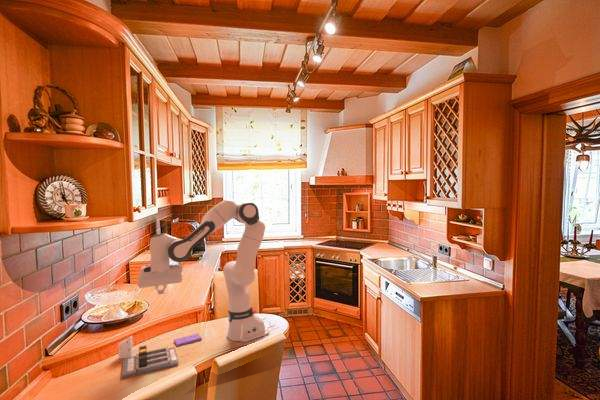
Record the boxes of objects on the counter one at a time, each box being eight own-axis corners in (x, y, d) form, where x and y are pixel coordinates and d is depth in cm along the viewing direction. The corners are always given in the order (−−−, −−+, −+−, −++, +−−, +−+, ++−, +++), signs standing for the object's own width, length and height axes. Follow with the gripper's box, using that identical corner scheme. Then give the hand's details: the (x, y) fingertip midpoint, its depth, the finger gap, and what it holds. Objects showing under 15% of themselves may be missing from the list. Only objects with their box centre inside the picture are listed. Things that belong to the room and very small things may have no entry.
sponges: (201, 341, 168) (201, 337, 168) (176, 347, 161) (176, 344, 161) (198, 336, 174) (198, 332, 174) (173, 342, 167) (173, 339, 167)
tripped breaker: (146, 359, 146) (146, 348, 146) (146, 361, 144) (146, 351, 144) (139, 360, 145) (139, 349, 145) (139, 363, 142) (139, 352, 142)
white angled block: (140, 352, 151) (130, 337, 151) (122, 364, 151) (112, 348, 151) (143, 348, 155) (134, 333, 155) (126, 360, 155) (116, 344, 154)
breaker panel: (174, 350, 158) (174, 338, 158) (178, 364, 143) (177, 351, 143) (123, 361, 148) (123, 348, 148) (122, 378, 134) (121, 364, 134)
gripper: (181, 262, 168) (182, 289, 168) (137, 267, 159) (138, 295, 159) (182, 264, 162) (183, 292, 162) (137, 269, 153) (138, 298, 153)
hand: (161, 293), depth 161 cm, fingers closed
